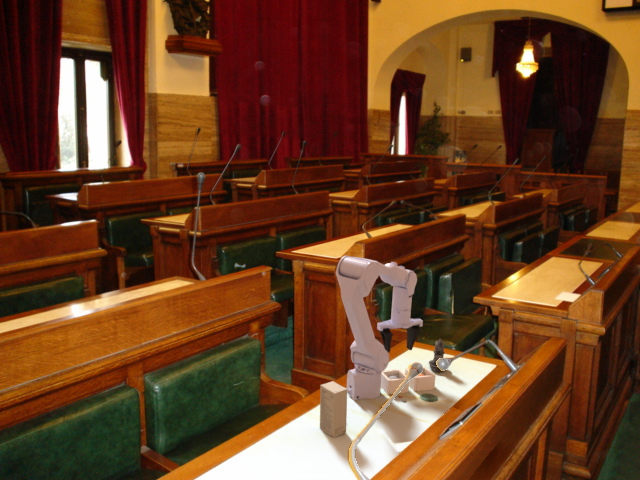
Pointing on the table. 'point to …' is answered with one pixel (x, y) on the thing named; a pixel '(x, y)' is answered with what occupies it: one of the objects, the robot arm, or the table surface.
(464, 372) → the table surface
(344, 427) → the skincare box
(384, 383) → the open square box
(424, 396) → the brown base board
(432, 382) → the beige open box
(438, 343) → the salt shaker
